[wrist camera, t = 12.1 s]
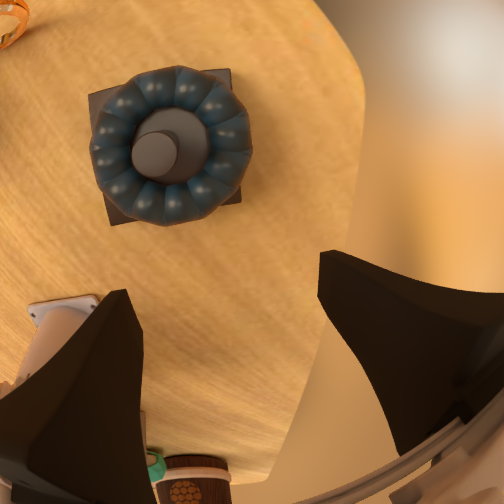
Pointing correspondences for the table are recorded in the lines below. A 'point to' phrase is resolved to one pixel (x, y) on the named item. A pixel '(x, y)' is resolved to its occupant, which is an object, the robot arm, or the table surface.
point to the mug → (194, 481)
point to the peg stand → (164, 144)
